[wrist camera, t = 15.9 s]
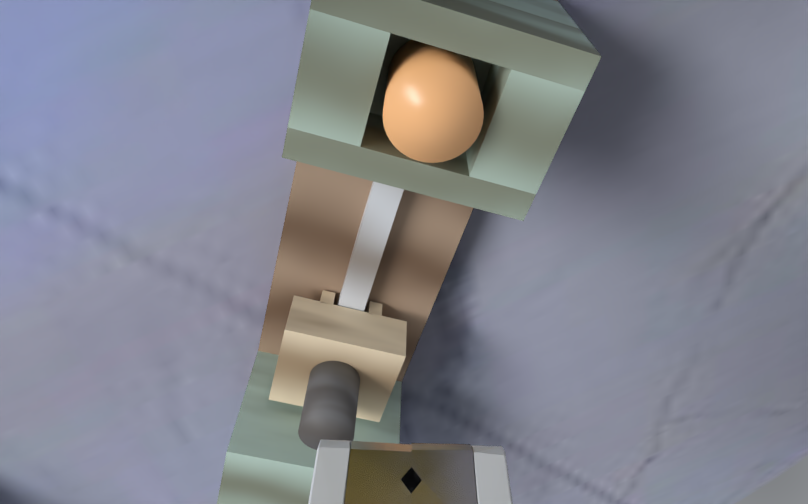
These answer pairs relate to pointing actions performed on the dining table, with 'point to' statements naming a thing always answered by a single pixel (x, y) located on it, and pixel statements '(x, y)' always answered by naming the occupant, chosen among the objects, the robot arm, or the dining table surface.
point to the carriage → (337, 366)
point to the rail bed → (395, 190)
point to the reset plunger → (432, 103)
